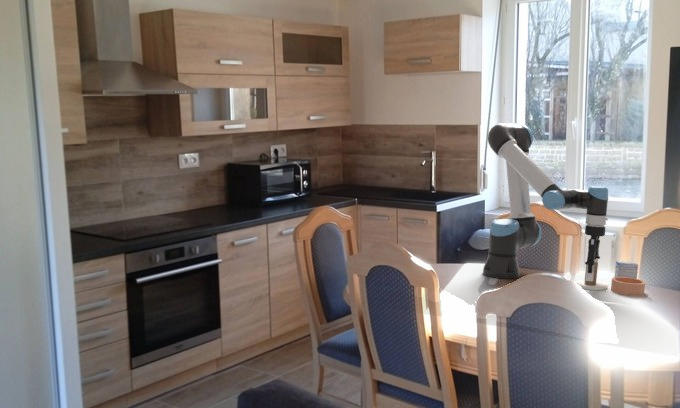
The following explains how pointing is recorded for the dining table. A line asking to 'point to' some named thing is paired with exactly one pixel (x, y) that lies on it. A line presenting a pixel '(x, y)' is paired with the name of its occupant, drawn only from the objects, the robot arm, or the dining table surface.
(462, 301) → the dining table surface
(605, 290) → the trivet
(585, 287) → the lid
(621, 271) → the medicine box
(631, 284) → the bowl
